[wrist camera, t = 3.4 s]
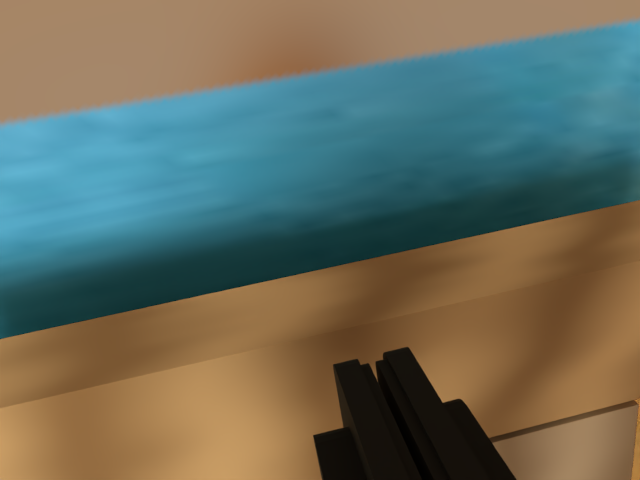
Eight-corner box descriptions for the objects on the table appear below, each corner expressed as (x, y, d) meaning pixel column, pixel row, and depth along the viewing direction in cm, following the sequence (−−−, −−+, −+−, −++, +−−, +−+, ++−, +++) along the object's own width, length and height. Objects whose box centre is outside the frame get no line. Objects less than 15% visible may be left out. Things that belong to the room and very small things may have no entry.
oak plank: (725, 181, 15) (780, 228, 14) (609, 356, 23) (639, 398, 21) (-142, 369, 13) (-176, 448, 12) (41, 499, 20) (34, 556, 19)
